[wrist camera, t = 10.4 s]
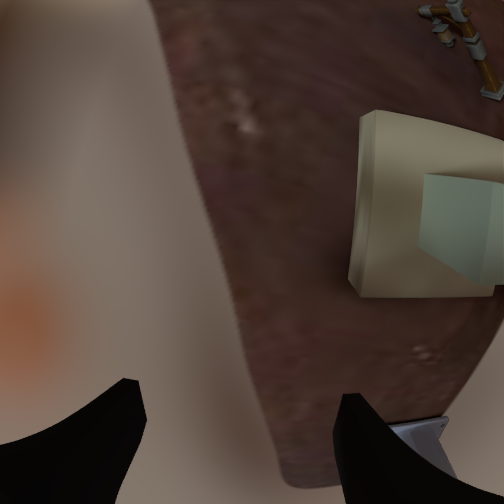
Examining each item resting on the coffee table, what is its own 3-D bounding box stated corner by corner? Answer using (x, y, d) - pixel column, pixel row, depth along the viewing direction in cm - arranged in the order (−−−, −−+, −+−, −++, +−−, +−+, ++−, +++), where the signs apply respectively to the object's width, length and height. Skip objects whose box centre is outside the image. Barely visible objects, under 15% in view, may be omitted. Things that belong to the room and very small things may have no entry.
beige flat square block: (470, 281, 19) (492, 296, 16) (347, 278, 19) (360, 297, 16) (486, 144, 16) (512, 144, 14) (359, 117, 17) (375, 109, 14)
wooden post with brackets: (415, -7, 13) (463, -13, 9) (465, 77, 17) (510, 86, 14) (403, 3, 14) (453, -1, 10) (456, 89, 18) (502, 101, 14)
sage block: (471, 249, 15) (535, 283, 10) (417, 247, 16) (478, 285, 10) (478, 182, 14) (548, 195, 9) (424, 173, 15) (493, 181, 9)
